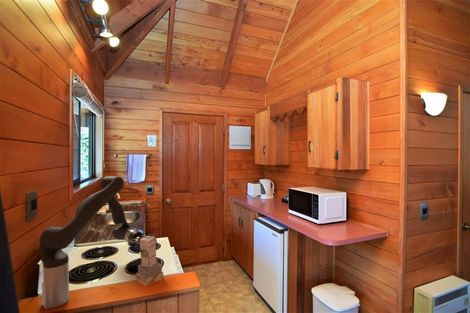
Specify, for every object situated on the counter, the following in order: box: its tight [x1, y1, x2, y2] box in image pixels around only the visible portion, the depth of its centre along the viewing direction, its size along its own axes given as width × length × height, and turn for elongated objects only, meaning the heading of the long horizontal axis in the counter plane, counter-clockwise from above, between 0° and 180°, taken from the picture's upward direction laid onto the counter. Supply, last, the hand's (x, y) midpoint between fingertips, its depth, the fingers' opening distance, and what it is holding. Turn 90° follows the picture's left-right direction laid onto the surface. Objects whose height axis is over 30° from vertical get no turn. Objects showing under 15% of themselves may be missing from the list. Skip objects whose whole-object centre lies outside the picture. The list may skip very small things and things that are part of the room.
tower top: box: [137, 261, 163, 279], centre depth 130 cm, size 9×9×4 cm
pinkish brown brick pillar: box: [139, 235, 158, 268], centre depth 129 cm, size 6×6×14 cm
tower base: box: [135, 271, 164, 287], centre depth 130 cm, size 10×10×4 cm
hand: (148, 243), depth 132 cm, fingers open, 8 cm apart
